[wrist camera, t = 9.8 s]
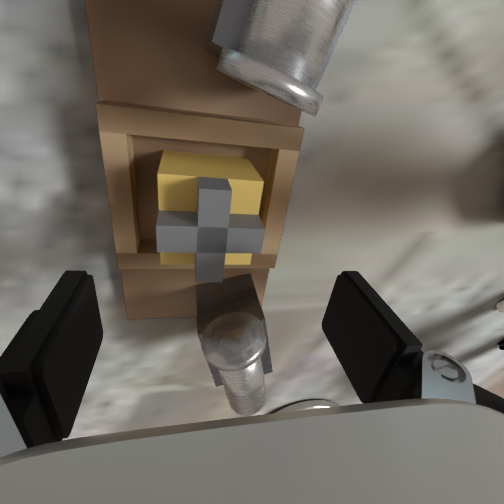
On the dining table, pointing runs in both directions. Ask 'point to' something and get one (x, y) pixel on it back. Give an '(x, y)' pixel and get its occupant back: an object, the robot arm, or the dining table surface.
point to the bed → (178, 138)
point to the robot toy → (502, 307)
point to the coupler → (208, 212)
